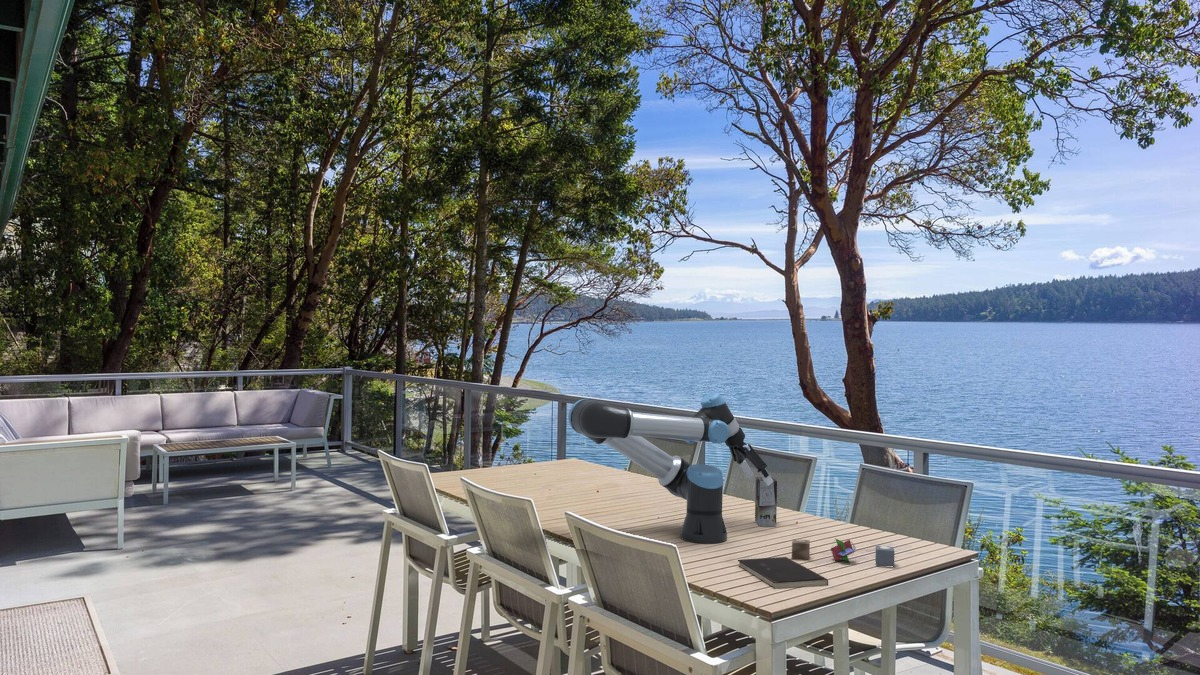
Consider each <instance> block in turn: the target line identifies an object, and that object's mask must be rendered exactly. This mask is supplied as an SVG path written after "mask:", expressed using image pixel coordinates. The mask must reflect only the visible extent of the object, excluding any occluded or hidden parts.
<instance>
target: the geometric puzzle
mask: <svg viewBox="0 0 1200 675" xmlns="http://www.w3.org/2000/svg"><path fill="white" fill-rule="evenodd" d="M835 541H836V545H835V546H831V547H830V553H832V557H833V560H834V562H838V561H840V560H844V562H846V563H849V564H850V562H851V561H850V560H849V557H848V556H851V555H853V554H854V553H856V552H857V549H856V545H855V544H854V542H852V541H851V539H848V538H847V540H845V541H842V540H841V539H840V540H839V539H838V538H834V541H833V542H835Z"/></svg>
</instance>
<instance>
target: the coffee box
mask: <svg viewBox="0 0 1200 675" xmlns="http://www.w3.org/2000/svg"><path fill="white" fill-rule="evenodd" d="M771 478H772V480H773V481H774V482H773V483H771V484H770V485H769V486H767V485H766V484H765V482H764V480H763V479H762V477H761V476H760V477H757V476H755V485H754V486H755V488H754V489H755V490H754V491H755V492H754V493H755V494H754V505H755V506H754V522H755V523H756V524H757V525H758V527H775V528H776V527H777V513H778V512H777V504H778V498H777V497H778V480H776V479H775V478H774V477H772V476H771Z"/></svg>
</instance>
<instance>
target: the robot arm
mask: <svg viewBox="0 0 1200 675" xmlns="http://www.w3.org/2000/svg"><path fill="white" fill-rule="evenodd" d="M700 405H701V408H700V409H699V410H698V411H697V412H695V413H694V414H692V415H691V416H678V415H671V414H670V415H667V414H660V413H659V414H657V413H647V412H637V411H631V409H630V408H628V407H619V406H615V405H611V404H608V403H605V402H602V401H597V400H595V399H591V398H583V399H580V400H577V401H576V402H574V403H573V404H572V405H571V407H570V409H569V412H568V415H567V416H568V417H567V418H568V423H569V425H570V427H571V428H572V430H573V431H574V432H576V433H577V434H581V435H583V436H584V437H586V438H587V439H589V440H591V441H592V442H593V443H595V444H597V445H603V444H606V445H607V446H608V447H610V448H612V449H613V450H614V451H616V452H617V453H619V454H620V455H622V456H624V457H625V458H626V459H628V460H630V461H632V462H633V463H634V464H636V465H638V467H639V466H640V468H643V469H644V470H645V471H647V472H648V473H649V474H652V475H653V476H655V477H656V478H657V479H658V480H657V481H658V484H659V485H660V486H662V487H663V488H665V489H666V490H667V491H668V492H669V493H670V494H672V495H673V496H675V497H677V498H681V499H684V500H686V515H685V518H684V521H683V524H682V527H681V529H680V538H681V539H682V538H683V539H682V540H684V539H685V540H684V541H687V540H688V541H687V542H690V541H692V543H697V542H699V543H698V544H720V543H724V542H726V541H727V539H728V530H727V527H726V524H725V521H724V518H723V493H724V491H723V490H724V489H723V486H724V476H723V472H722V470H721V469H720V468H719V467H717V466H715V465H714V466H713V465H710V464H702V463H696V464H691V463H690V462H689V461H687V460H686V459H684V458H682V457H681V456H679V455H673V456H671V455H670V454H668V453H667V452H665V451H664V450H662V449H661V448H659V447H658V446H656V445H655V444H653V443H652V442H650V441H649V440H647V439H646V438H656V439H657V438H659V439H670V440H680V441H682V440H683V441H684V442H685V443H687V444H688V445H693V444H694V443H695V442H705V443H712V444H718V445H720V444H723V443H724V444H725V445H726V446H727V447H728V449H729V451H730V455H731V457H732V460H733V462H735V463H737V464H738V465H739V468H740V469H741V470H742V472H743V473H744V475H745V476H746V478H747V480H750V479H751V478H752V477H753V476H754V475H755V474H754V472H753V470H752V468H751V467H750V465H749V463H748V462H747V460H748V461H749V462H750V463H751V465H753V466H754V467H755V468H756V469H757V473H758V474H759V475H760V477H762V479H763V480H764V482H765V484H766V485H767V486H769V485H770V484H771V483H773V482H774V481H773V480H772V478H771V477H772V476H771V474H770V473H769V471H768V470H767V467H768V465H767V463H765V461H764V460H763V459H762V458H761V456H760V455H759V454H758V453H757V452H756V450H755V449H754V448H753V446H752V445H751V444H750V443H748V444H747V442H745V441H744V440H745V439H746V433H744V430H743V429H742V428H741V427H740V425H739V422H738V421H737V417H734V414H733V413H732V412H731V409H730V408H729V406H728V405H727V403H726V401H725V400H724V398H723V396H722V395H721V394H720V393H719V392H717V391H716V392H714V391H713V392H710V393H708V394H706V395H705V396H703V397H702V399H701V400H700ZM746 459H747V460H746Z"/></svg>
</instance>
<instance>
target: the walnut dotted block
mask: <svg viewBox="0 0 1200 675" xmlns="http://www.w3.org/2000/svg"><path fill="white" fill-rule="evenodd" d="M810 544H811V540H810V539H798V538H792V542H791V560H799V561H810V554H811V552H810V551H811V550H810V546H811V545H810Z"/></svg>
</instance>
